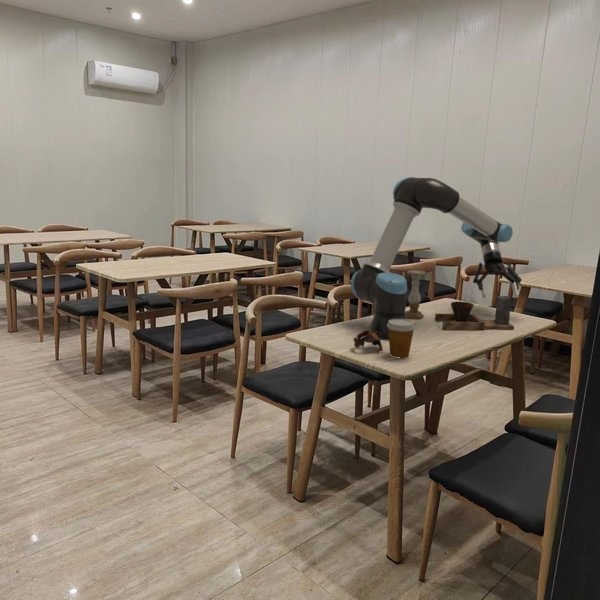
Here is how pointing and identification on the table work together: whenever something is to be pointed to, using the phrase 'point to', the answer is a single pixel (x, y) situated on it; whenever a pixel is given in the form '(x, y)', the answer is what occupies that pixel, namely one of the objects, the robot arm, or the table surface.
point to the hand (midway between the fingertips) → (500, 296)
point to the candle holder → (414, 296)
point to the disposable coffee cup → (400, 336)
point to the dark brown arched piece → (368, 339)
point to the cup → (461, 311)
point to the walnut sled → (477, 324)
